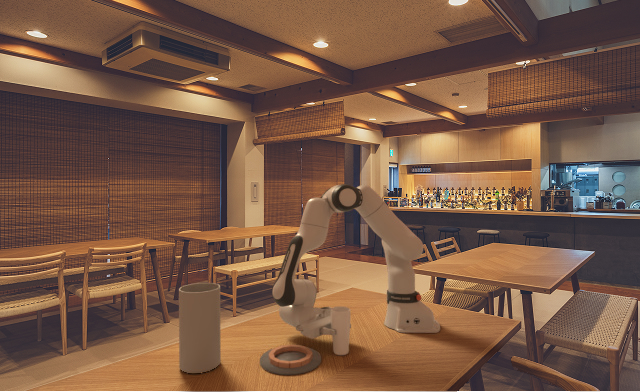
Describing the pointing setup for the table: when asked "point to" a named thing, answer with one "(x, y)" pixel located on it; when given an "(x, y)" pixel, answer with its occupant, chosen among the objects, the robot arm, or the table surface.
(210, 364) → the cylinder vase
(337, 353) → the drinking glass
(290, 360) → the round tray
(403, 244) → the robot arm
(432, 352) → the table surface
